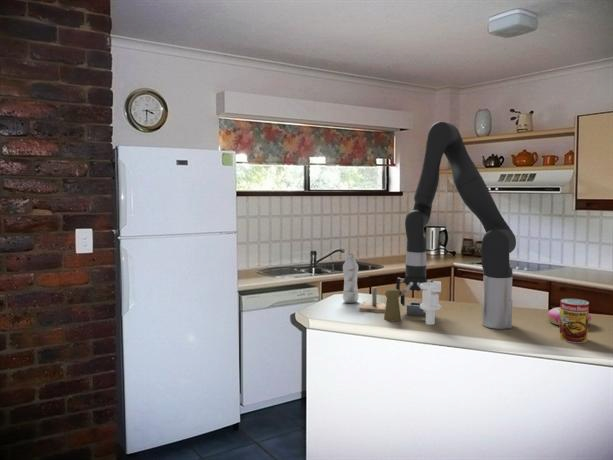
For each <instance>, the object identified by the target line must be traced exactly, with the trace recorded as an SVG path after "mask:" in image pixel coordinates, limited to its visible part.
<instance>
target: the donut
mask: <svg viewBox="0 0 613 460" xmlns="http://www.w3.org/2000/svg"><path fill="white" fill-rule="evenodd" d="M547 318H548V321H549V322H550V323H551V324H553V325H556V326H559V327H560V306H558V307H552V309H550V310H549V311H548V313H547ZM591 321H592V316H591V314H590V313H588V325H589V324H590V323H591Z"/></svg>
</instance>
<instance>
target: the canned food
mask: <svg viewBox="0 0 613 460" xmlns="http://www.w3.org/2000/svg"><path fill="white" fill-rule="evenodd" d="M559 307H560V326H559V329H558V330H559V333H558V336H559V337H558V338H559V339H560V340H561V341H564V342H568V343H575V344H583V343H587V342H588V337H589V336H588V335H589V334H588V333H589V324H588V313H589V308H590V302H589V301H587V300H584V299H579V298H562V299H560V305H559ZM589 314H590V313H589Z"/></svg>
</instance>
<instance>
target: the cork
mask: <svg viewBox="0 0 613 460" xmlns="http://www.w3.org/2000/svg"><path fill="white" fill-rule="evenodd" d="M400 291H401V290H400ZM400 291H399V290H398V289H396V288H393V287H392V288H388V289H386V290H385V292H384V293H385V297H386V308H385V313H384V316H383V319H384V320H385V321H388V322H399V321H402V317H401V315H402V314H401V308H400V302H399V298H401V296H400Z"/></svg>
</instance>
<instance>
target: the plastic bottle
mask: <svg viewBox="0 0 613 460" xmlns="http://www.w3.org/2000/svg"><path fill="white" fill-rule="evenodd" d="M342 272H343V280H344V281H343V291H342V299H343V302H344V303H348V304H353V303H357V302H358V301H359V296H360V295H359V290H358V276H359V275H358V273H359V265H358V263H357V261H356V253H346V254H345V262H344V263H343V265H342Z"/></svg>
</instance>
